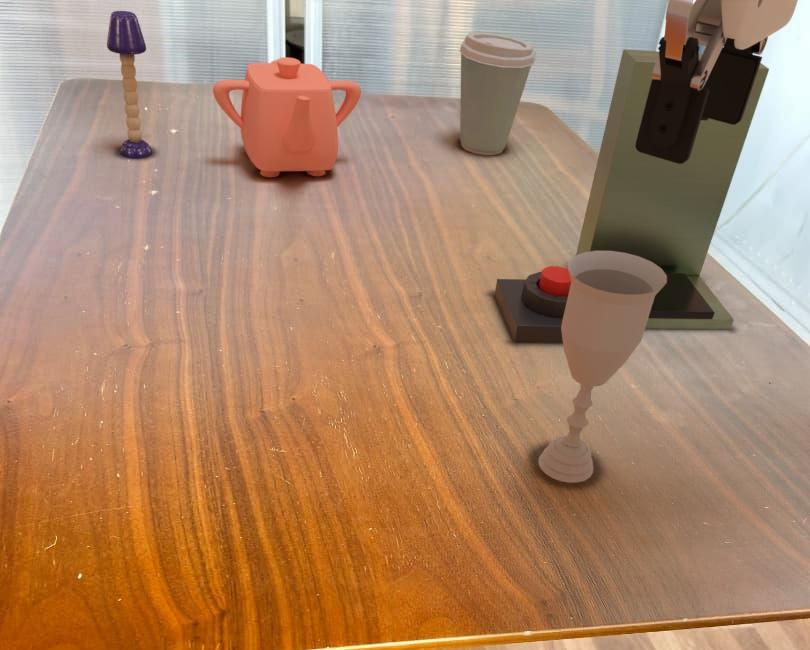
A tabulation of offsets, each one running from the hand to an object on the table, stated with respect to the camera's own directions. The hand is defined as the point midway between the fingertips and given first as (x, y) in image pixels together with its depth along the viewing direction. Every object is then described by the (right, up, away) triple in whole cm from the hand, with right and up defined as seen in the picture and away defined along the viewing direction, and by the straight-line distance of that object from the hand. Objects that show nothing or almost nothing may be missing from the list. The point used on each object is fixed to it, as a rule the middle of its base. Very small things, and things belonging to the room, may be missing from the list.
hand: (689, 136), depth 55 cm
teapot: (-33, +25, +64) cm, 77 cm away
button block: (-2, -2, +40) cm, 40 cm away
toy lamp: (-53, +27, +63) cm, 87 cm away
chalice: (-4, -19, +21) cm, 29 cm away
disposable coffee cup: (-6, +33, +76) cm, 83 cm away
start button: (-2, +1, +37) cm, 37 cm away
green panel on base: (+10, +2, +45) cm, 46 cm away
